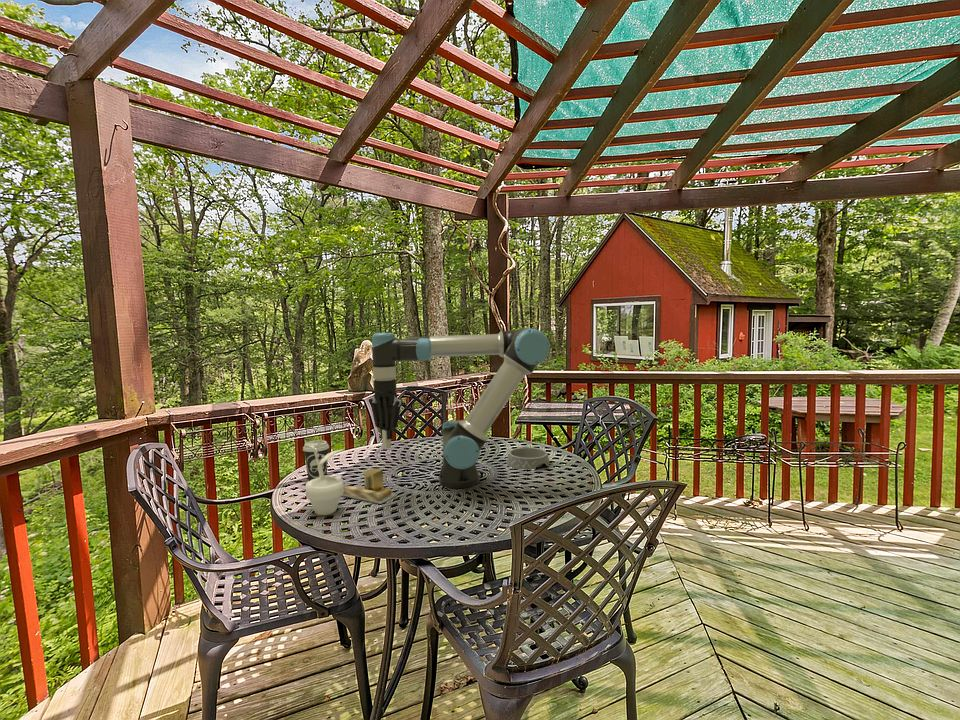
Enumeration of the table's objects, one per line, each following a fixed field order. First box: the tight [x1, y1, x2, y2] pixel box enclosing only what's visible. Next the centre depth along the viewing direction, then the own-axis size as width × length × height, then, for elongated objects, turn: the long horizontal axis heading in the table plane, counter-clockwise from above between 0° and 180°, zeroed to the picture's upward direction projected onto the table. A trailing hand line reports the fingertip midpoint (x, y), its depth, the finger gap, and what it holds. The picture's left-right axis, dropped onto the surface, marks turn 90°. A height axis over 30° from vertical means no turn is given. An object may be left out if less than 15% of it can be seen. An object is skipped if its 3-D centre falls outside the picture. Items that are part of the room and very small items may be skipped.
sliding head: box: [363, 468, 384, 491], centre depth 167 cm, size 4×6×8 cm
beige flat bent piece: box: [343, 484, 392, 502], centre depth 167 cm, size 17×8×2 cm, turn 62°
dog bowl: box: [505, 446, 551, 470], centre depth 200 cm, size 17×18×5 cm
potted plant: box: [305, 441, 346, 516], centre depth 154 cm, size 13×12×25 cm
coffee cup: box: [302, 439, 330, 482], centre depth 183 cm, size 10×10×15 cm
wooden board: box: [342, 485, 397, 505], centre depth 167 cm, size 17×8×1 cm, turn 62°
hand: (386, 448), depth 163 cm, fingers closed
